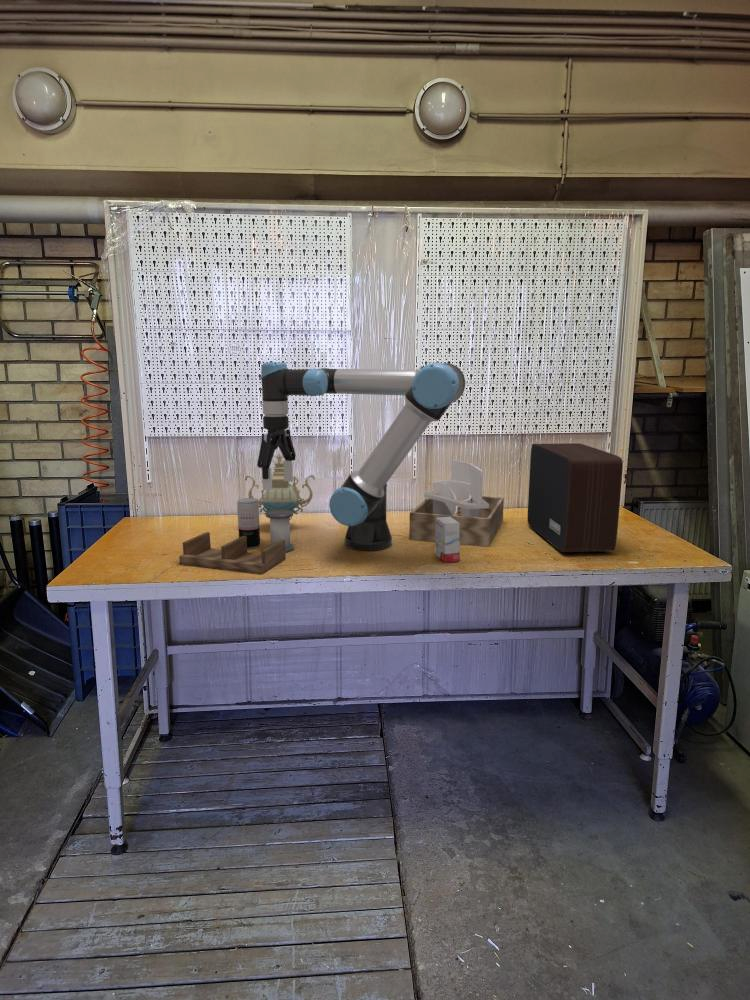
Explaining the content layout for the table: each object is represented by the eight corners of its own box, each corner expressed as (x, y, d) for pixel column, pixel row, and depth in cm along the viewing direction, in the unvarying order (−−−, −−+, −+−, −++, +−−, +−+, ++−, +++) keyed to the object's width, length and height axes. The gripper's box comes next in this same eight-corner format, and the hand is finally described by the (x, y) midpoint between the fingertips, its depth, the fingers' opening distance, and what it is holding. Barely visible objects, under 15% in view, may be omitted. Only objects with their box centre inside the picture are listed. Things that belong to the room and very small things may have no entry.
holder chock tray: (502, 521, 227) (503, 497, 225) (488, 546, 196) (489, 519, 195) (433, 516, 235) (433, 492, 233) (409, 539, 205) (409, 512, 203)
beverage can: (243, 542, 201) (240, 497, 198) (262, 543, 201) (260, 498, 197) (236, 548, 195) (234, 502, 192) (256, 549, 194) (254, 502, 191)
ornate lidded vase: (244, 533, 212) (240, 446, 206) (250, 524, 223) (246, 441, 217) (314, 532, 213) (312, 445, 206) (317, 524, 224) (315, 441, 217)
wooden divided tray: (285, 559, 184) (285, 539, 183) (262, 574, 172) (261, 553, 170) (207, 550, 193) (206, 532, 192) (179, 564, 180) (178, 544, 179)
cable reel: (299, 547, 197) (297, 510, 194) (286, 554, 189) (285, 517, 186) (275, 544, 199) (273, 508, 197) (262, 552, 192) (260, 514, 189)
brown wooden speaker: (621, 556, 187) (629, 457, 180) (563, 557, 186) (570, 458, 179) (575, 525, 222) (581, 441, 216) (526, 526, 221) (530, 442, 215)
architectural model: (410, 527, 221) (410, 462, 216) (455, 519, 233) (456, 457, 228) (463, 546, 199) (465, 474, 194) (510, 535, 210) (513, 467, 205)
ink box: (460, 562, 182) (461, 522, 179) (443, 563, 181) (444, 524, 178) (449, 553, 190) (450, 515, 187) (434, 554, 189) (434, 516, 186)
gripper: (283, 411, 198) (285, 477, 202) (242, 418, 175) (246, 492, 179) (305, 412, 195) (306, 478, 200) (266, 419, 172) (269, 494, 177)
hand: (278, 485), depth 190 cm, fingers open, 13 cm apart
